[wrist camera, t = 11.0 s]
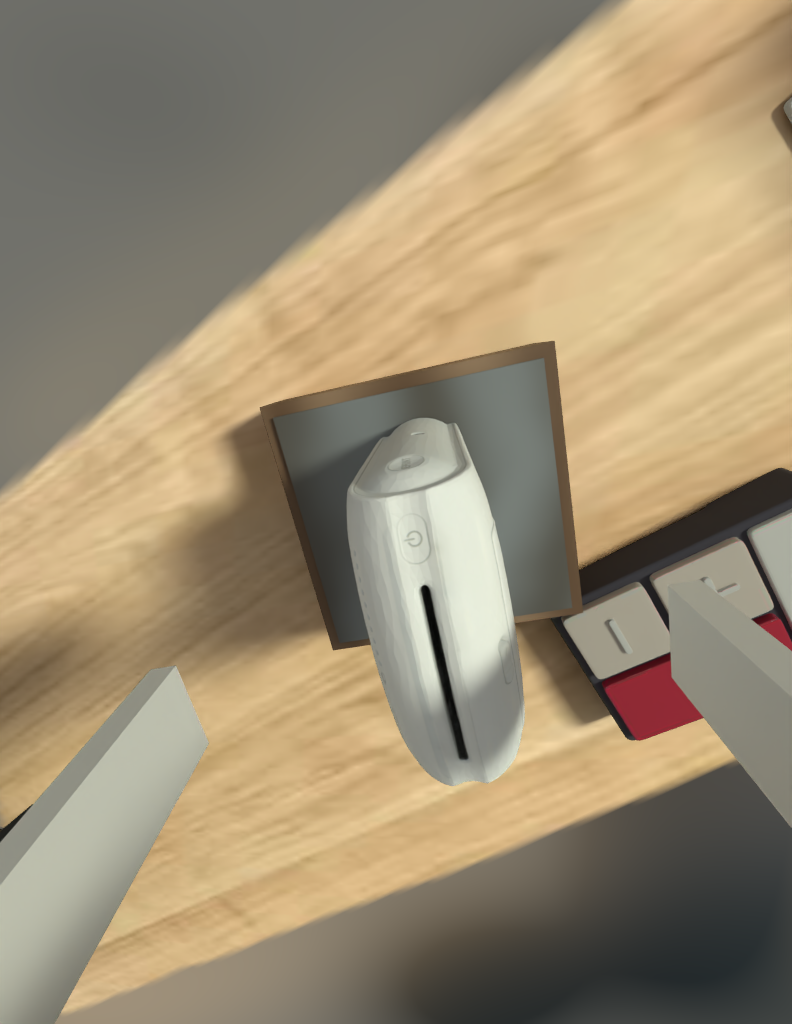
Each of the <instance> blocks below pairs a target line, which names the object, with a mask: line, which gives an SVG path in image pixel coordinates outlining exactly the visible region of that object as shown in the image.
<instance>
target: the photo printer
mask: <svg viewBox="0 0 792 1024" xmlns="http://www.w3.org/2000/svg"><path fill="white" fill-rule="evenodd" d="M347 531H348V540H349V547H350V552H351V558H352V563H353V569H354V574H355V579H356V583H357V588H358V593H359V598H360V602H361V607H362V611H363V615H364V620H365V624H366V627H367V631H368V635H369V639H370V643H371V647H372V650H373V654H374V658H375V661H376V665H377V668H378V671H379V675H380V678H381V681H382V684H383V687H384V690H385V694H386V697H387V699H388V702H389V705H390V708H391V711H392V713H393V716H394V719H395V721H396V724H397V726H398V728H399V731H400V733H401V735H402V737H403V739H404V741H405V743H406V745H407V747H408V748H409V750H410V751H411V753H412V754H413V756H414V757H415V758H416V760H417V761H418V762H419V764H420V765H421V766H422V767H423V768H424V769H425V771H426V772H427V773H428V774H430V775H431V776H432V777H433V778H435V779H437V780H438V781H440V782H442V783H444V784H447V785H450V786H455V785H458V784H461V783H463V782H467V781H479V782H484V783H489V782H491V781H493V780H495V779H497V778H498V777H499V776H501V775H502V774H503V773H504V772H505V771H506V770H507V769H508V768H509V767H510V765H511V764H512V762H513V761H514V759H515V757H516V755H517V752H518V749H519V745H520V740H521V735H522V729H523V726H524V718H525V712H524V696H523V682H522V673H521V665H520V657H519V649H518V643H517V636H516V629H515V623H514V616H513V610H512V604H511V599H510V593H509V588H508V583H507V577H506V572H505V567H504V562H503V557H502V552H501V547H500V543H499V539H498V535H497V531H496V526H495V521H494V519H493V517H492V514H491V511H490V507H489V503H488V500H487V497H486V494H485V491H484V488H483V486H482V483H481V481H480V478H479V476H478V474H477V471H476V469H475V467H474V464H473V462H472V459H471V457H470V455H469V452H468V450H467V447H466V445H465V442H464V440H463V437H462V435H461V432H460V430H459V428H458V426H457V424H456V423H450V424H445V423H443V422H442V421H439V420H436V419H432V418H417V419H412V420H409V421H407V422H405V423H403V424H401V425H400V426H399V427H398V428H396V429H395V430H394V431H393V433H392V434H391V435H390V436H389V437H383V438H381V439H380V440H379V441H378V443H377V444H376V445H375V447H374V448H373V450H372V452H371V453H370V455H369V456H368V458H367V459H366V461H365V462H364V464H363V466H362V467H361V468H360V470H359V472H358V473H357V475H356V477H355V478H354V480H353V482H352V483H351V485H350V486H349V488H348V491H347Z"/></svg>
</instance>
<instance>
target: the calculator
mask: <svg viewBox="0 0 792 1024" xmlns="http://www.w3.org/2000/svg"><path fill="white" fill-rule="evenodd" d="M579 578H580V587H581V597H582V606H583V613H580V614H573V615H566V616H560V617H553V618H551V620H552V622H553V623H554V625H555V627H556V628H557V630H558V631H559V633H560V634H561V636H562V638H563V639H564V641H565V642H566V644H567V645H568V647H569V649H570V650H571V652H572V653H573V655H574V657H575V658H576V660H577V661H578V663H579V664H580V666H581V668H582V669H583V671H584V672H585V674H586V675H587V677H588V679H589V680H590V682H591V683H592V685H593V687H594V688H595V690H596V691H597V693H598V694H599V696H600V698H601V699H602V701H603V702H604V704H605V705H606V707H607V709H608V710H609V712H610V713H611V715H612V717H613V718H614V720H615V721H616V723H617V724H618V726H619V728H620V729H621V731H622V732H623V734H624V735H625V737H626V738H627V739H629V740H644V739H647V738H649V737H652V736H655V735H658V734H660V733H663V732H666V731H669V730H672V729H674V728H677V727H680V726H683V725H685V724H688V723H691V722H694V721H697V720H699V719H702V718H704V717H703V716H702V715H701V714H700V712H699V711H698V710H697V709H696V707H695V706H694V705H693V704H692V702H691V701H690V700H689V699H688V697H687V696H686V695H685V694H684V692H683V691H682V690H681V689H680V687H679V686H678V685H677V684H676V682H675V681H674V680H673V679H672V673H671V651H670V629H669V606H668V585H671V584H677V583H683V582H689V581H695V580H701V581H702V582H704V583H705V584H706V585H708V586H709V587H710V588H711V589H713V590H714V591H715V592H717V593H718V594H719V595H720V596H722V597H723V598H724V599H726V600H727V601H728V602H729V603H731V604H732V605H733V606H735V607H736V608H737V609H738V610H740V611H741V612H742V613H744V614H745V615H746V616H747V617H749V618H750V619H751V620H753V621H754V622H755V623H756V624H758V625H759V626H760V627H762V628H763V629H764V630H765V631H767V632H768V633H769V634H771V635H772V636H773V637H774V638H776V639H777V640H778V641H780V642H781V643H782V644H783V645H785V646H786V647H787V648H789V649H790V650H791V651H792V471H789V470H786V469H784V468H778V469H775V470H773V471H771V472H769V473H767V474H765V475H763V476H761V477H759V478H757V479H755V480H753V481H752V482H750V483H748V484H746V485H744V486H742V487H740V488H738V489H736V490H734V491H732V492H730V493H728V494H726V495H724V496H722V497H721V498H719V499H717V500H715V501H713V502H711V503H709V504H708V505H707V506H706V507H705V508H704V509H702V510H700V511H698V512H696V513H694V514H692V515H690V516H688V517H686V518H684V519H682V520H680V521H678V522H676V523H674V524H671V525H669V526H667V527H665V528H663V529H661V530H659V531H657V532H655V533H653V534H651V535H649V536H647V537H645V538H643V539H641V540H638V541H636V542H634V543H632V544H630V545H628V546H626V547H624V548H622V549H620V550H618V551H616V552H614V553H612V554H610V555H608V556H606V557H604V558H602V559H601V560H599V561H597V562H595V563H593V564H591V565H589V566H587V567H585V568H583V569H581V570H579Z"/></svg>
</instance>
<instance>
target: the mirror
mask: <svg viewBox="0 0 792 1024" xmlns="http://www.w3.org/2000/svg"><path fill="white" fill-rule="evenodd" d="M260 411H261V414H262V417H263V420H264V424H265V427H266V430H267V434H268V437H269V440H270V444H271V447H272V450H273V453H274V457H275V460H276V463H277V467H278V470H279V473H280V476H281V480H282V483H283V486H284V490H285V493H286V496H287V500H288V503H289V506H290V509H291V513H292V516H293V519H294V523H295V526H296V529H297V533H298V536H299V539H300V542H301V546H302V549H303V552H304V556H305V559H306V562H307V566H308V569H309V572H310V575H311V579H312V582H313V585H314V589H315V592H316V595H317V599H318V602H319V605H320V608H321V612H322V615H323V618H324V622H325V625H326V628H327V632H328V635H329V638H330V641H331V645H332V648H333V650H338V649H345V648H352V647H358V646H365V645H371V643H370V639H369V635H368V631H367V627H366V624H365V620H364V615H363V611H362V607H361V602H360V598H359V593H358V588H357V583H356V579H355V574H354V569H353V563H352V558H351V552H350V547H349V540H348V531H347V491H348V488H349V486H350V485H351V483H352V482H353V480H354V478H355V477H356V475H357V473H358V472H359V470H360V468H361V467H362V466H363V464H364V462H365V461H366V459H367V458H368V456H369V455H370V453H371V452H372V450H373V448H374V447H375V445H376V444H377V443H378V441H379V440H380V439H381V438H383V437H389V436H390V435H391V434H392V433H393V431H394V430H395V429H396V428H398V427H399V426H400V425H401V424H403V423H405V422H407V421H409V420H412V419H417V418H432V419H436V420H439V421H442V422H443V423H445V424H450V423H456V424H457V426H458V428H459V430H460V432H461V435H462V437H463V440H464V442H465V445H466V447H467V450H468V452H469V455H470V457H471V459H472V462H473V464H474V467H475V469H476V471H477V474H478V476H479V478H480V481H481V483H482V486H483V488H484V491H485V494H486V497H487V500H488V503H489V507H490V511H491V514H492V517H493V519H494V521H495V526H496V531H497V535H498V539H499V543H500V547H501V552H502V557H503V562H504V567H505V572H506V577H507V583H508V588H509V593H510V599H511V604H512V610H513V616H514V623H519V622H526V621H533V620H539V619H546V618H553V617H560V616H566V615H573V614H580V613H583V606H582V597H581V587H580V578H579V568H578V559H577V549H576V540H575V530H574V521H573V511H572V502H571V492H570V483H569V473H568V464H567V454H566V445H565V435H564V426H563V416H562V407H561V398H560V388H559V379H558V369H557V360H556V350H555V341H549V342H541V343H533V344H529V345H525V346H520V347H516V348H511V349H507V350H502V351H498V352H494V353H489V354H485V355H480V356H476V357H472V358H467V359H463V360H458V361H454V362H449V363H445V364H441V365H436V366H432V367H427V368H423V369H418V370H414V371H410V372H405V373H401V374H396V375H392V376H388V377H383V378H379V379H374V380H370V381H365V382H361V383H357V384H352V385H348V386H343V387H339V388H334V389H330V390H326V391H321V392H317V393H312V394H308V395H304V396H299V397H295V398H290V399H286V400H282V401H279V402H276V403H272V404H269V405H266V406H263V407H260Z"/></svg>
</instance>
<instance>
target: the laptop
mask: <svg viewBox="0 0 792 1024" xmlns="http://www.w3.org/2000/svg"><path fill="white" fill-rule="evenodd" d="M784 111H785V113H786V115H787V117H788V118H789V120H790V122H791V124H792V97H791V98H790V99H789V100H788V101H787V102H786V103H785V105H784Z"/></svg>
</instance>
